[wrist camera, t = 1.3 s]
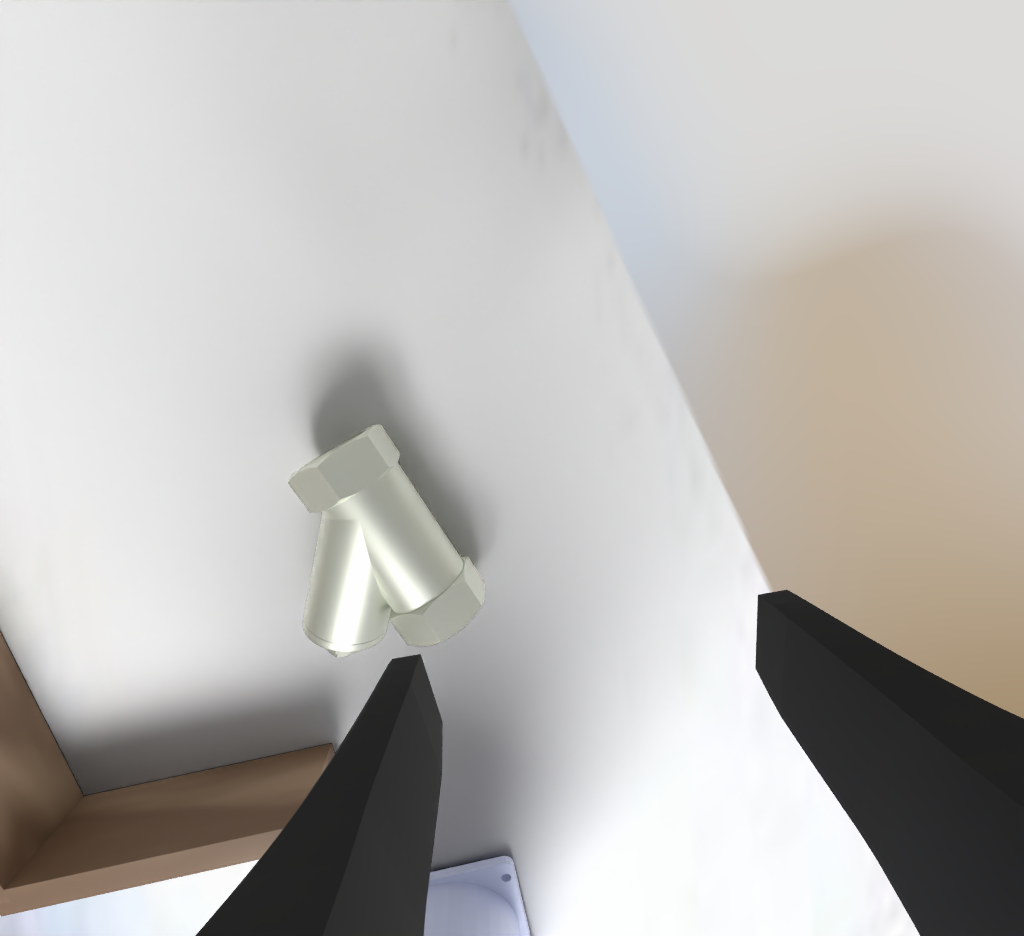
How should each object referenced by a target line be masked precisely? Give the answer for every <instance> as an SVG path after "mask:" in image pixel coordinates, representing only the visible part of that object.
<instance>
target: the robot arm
mask: <svg viewBox="0 0 1024 936" xmlns="http://www.w3.org/2000/svg"><path fill="white" fill-rule="evenodd" d="M756 670H757V672H758V674H759V676H760V678H761V680H762V682H763V684H764V686H765V688H766V690H767V691H768V693H769V695H770V697H771V699H772V701H773V703H774V705H775V706H776V708H777V710H778V712H779V714H780V716H781V717H782V719H783V720H784V722H785V723H786V725H787V726H788V728H789V729H790V731H791V732H792V734H793V735H794V737H795V738H796V740H797V741H798V743H799V744H800V746H801V747H802V749H803V750H804V751H805V753H806V754H807V756H808V757H809V759H810V760H811V762H812V763H813V765H814V766H815V768H816V769H817V771H818V772H819V773H820V775H821V776H822V778H823V779H824V781H825V782H826V784H827V785H828V787H829V788H830V790H831V791H832V792H833V794H834V795H835V797H836V798H837V800H838V801H839V803H840V804H841V806H842V807H843V809H844V810H845V811H846V813H847V814H848V816H849V817H850V819H851V820H852V822H853V823H854V825H855V826H856V828H857V829H858V831H859V832H860V834H861V835H862V837H863V838H864V840H865V841H866V843H867V845H868V846H869V848H870V849H871V851H872V852H873V854H874V856H875V857H876V859H877V860H878V862H879V864H880V866H881V867H882V869H883V871H884V873H885V874H886V876H887V878H888V880H889V881H890V883H891V885H892V887H893V888H894V890H895V892H896V894H897V895H898V897H899V899H900V901H901V902H902V904H903V906H904V907H905V909H906V911H907V913H908V914H909V916H910V918H911V920H912V921H913V923H914V925H915V927H916V929H917V930H918V932H919V934H920V936H1024V719H1023V718H1021V717H1019V716H1016V715H1014V714H1012V713H1010V712H1008V711H1006V710H1003V709H1001V708H999V707H997V706H995V705H993V704H991V703H989V702H987V701H985V700H983V699H981V698H979V697H977V696H975V695H973V694H971V693H969V692H967V691H965V690H963V689H961V688H959V687H957V686H955V685H954V684H952V683H949V682H948V681H946V680H944V679H942V678H940V677H938V676H936V675H934V674H933V673H931V672H929V671H927V670H925V669H923V668H921V667H920V666H918V665H916V664H914V663H912V662H910V661H909V660H907V659H905V658H903V657H901V656H900V655H898V654H896V653H894V652H892V651H891V650H889V649H887V648H885V647H884V646H882V645H880V644H879V643H877V642H875V641H873V640H872V639H870V638H868V637H866V636H865V635H863V634H861V633H860V632H858V631H856V630H855V629H853V628H851V627H849V626H848V625H846V624H844V623H843V622H841V621H839V620H838V619H836V618H834V617H833V616H831V615H829V614H828V613H826V612H824V611H823V610H821V609H819V608H818V607H816V606H814V605H812V604H811V603H809V602H807V601H806V600H804V599H802V598H801V597H799V596H797V595H795V594H793V593H792V592H790V591H788V590H784V591H778V592H772V593H766V594H761V595H758V612H757V641H756ZM441 777H442V720H441V716H440V713H439V710H438V707H437V704H436V701H435V698H434V695H433V691H432V688H431V685H430V682H429V679H428V676H427V673H426V670H425V666H424V663H423V660H422V657H421V654H419V655H413V656H407V657H402V658H396V659H392V660H391V662H390V663H389V664H388V666H387V668H386V670H385V671H384V673H383V675H382V677H381V678H380V680H379V682H378V684H377V685H376V687H375V689H374V691H373V692H372V694H371V696H370V697H369V699H368V701H367V703H366V704H365V706H364V708H363V709H362V711H361V713H360V714H359V716H358V718H357V719H356V721H355V723H354V724H353V726H352V728H351V729H350V731H349V732H348V734H347V736H346V737H345V739H344V740H343V742H342V744H341V745H340V747H339V748H338V750H337V752H336V753H335V755H334V756H333V758H332V759H331V761H330V762H329V764H328V765H327V767H326V768H325V770H324V771H323V773H322V774H321V776H320V777H319V779H318V780H317V782H316V783H315V785H314V786H313V787H312V789H311V790H310V792H309V793H308V795H307V796H306V798H305V799H304V801H303V802H302V804H301V805H300V806H299V808H298V809H297V811H296V812H295V813H294V815H293V816H292V817H291V819H290V820H289V822H288V823H287V824H286V826H285V827H284V828H283V830H282V831H281V832H280V834H279V835H278V836H277V838H276V839H275V840H274V842H273V843H272V844H271V845H270V847H269V848H268V849H267V851H266V852H265V853H264V854H263V856H262V857H261V858H260V860H259V861H258V862H257V863H256V865H255V866H254V867H253V868H252V870H251V871H250V872H249V873H248V874H247V876H246V877H245V878H244V879H243V880H242V882H241V883H240V884H239V885H238V886H237V888H236V889H235V890H234V891H233V892H232V894H231V895H230V896H229V897H228V899H227V900H226V901H225V902H224V903H223V904H222V906H221V907H220V908H219V909H218V910H217V911H216V913H215V914H214V915H213V916H212V917H211V918H210V920H209V921H208V922H207V923H206V924H205V925H204V927H203V928H202V929H201V930H200V931H199V932H198V933H197V935H196V936H531V935H530V930H529V926H528V922H527V918H526V913H525V909H524V905H523V901H522V896H521V892H520V888H519V884H518V879H517V875H516V871H515V866H514V862H513V860H512V858H510V857H508V856H500V857H496V858H491V859H487V860H482V861H478V862H473V863H469V864H465V865H460V866H456V867H451V868H447V869H442V870H438V871H433V872H430V870H431V862H432V853H433V845H434V837H435V829H436V820H437V812H438V803H439V795H440V786H441Z"/></svg>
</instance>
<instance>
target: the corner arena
mask: <svg viewBox="0 0 1024 936" xmlns="http://www.w3.org/2000/svg"><path fill="white" fill-rule="evenodd" d="M334 755H335V752H334V749H333V746H332V743H330V744H326V745H321V746H316V747H312V748H307V749H302V750H298V751H293V752H288V753H284V754H279V755H274V756H270V757H265V758H260V759H256V760H251V761H246V762H242V763H237V764H232V765H228V766H223V767H218V768H214V769H209V770H204V771H200V772H195V773H190V774H186V775H181V776H176V777H171V778H167V779H162V780H157V781H153V782H148V783H143V784H139V785H134V786H129V787H125V788H120V789H115V790H111V791H106V792H101V793H97V794H92V795H87V796H83V794H82V792H81V790H80V788H79V786H78V784H77V782H76V780H75V778H74V776H73V774H72V772H71V770H70V768H69V766H68V764H67V762H66V760H65V759H64V757H63V755H62V753H61V751H60V749H59V747H58V745H57V743H56V741H55V739H54V737H53V735H52V733H51V731H50V729H49V727H48V725H47V723H46V721H45V719H44V717H43V715H42V713H41V711H40V709H39V707H38V705H37V703H36V701H35V699H34V697H33V696H32V694H31V692H30V690H29V688H28V686H27V684H26V682H25V680H24V678H23V676H22V674H21V672H20V670H19V668H18V666H17V664H16V662H15V660H14V658H13V656H12V654H11V652H10V650H9V648H8V646H7V644H6V642H5V640H4V638H3V636H2V634H1V633H0V915H1V916H6V915H10V914H15V913H19V912H24V911H28V910H33V909H37V908H42V907H46V906H51V905H55V904H60V903H64V902H69V901H73V900H78V899H82V898H87V897H91V896H96V895H100V894H105V893H109V892H114V891H118V890H123V889H127V888H132V887H136V886H141V885H145V884H150V883H154V882H159V881H163V880H168V879H172V878H177V877H182V876H186V875H191V874H195V873H200V872H204V871H209V870H213V869H218V868H222V867H227V866H231V865H236V864H240V863H245V862H249V861H254V860H258V859H260V858H261V857H262V856H263V854H264V853H265V852H266V851H267V849H268V848H269V847H270V845H271V844H272V843H273V842H274V840H275V839H276V838H277V836H278V835H279V834H280V832H281V831H282V830H283V828H284V827H285V826H286V824H287V823H288V822H289V820H290V819H291V817H292V816H293V815H294V813H295V812H296V811H297V809H298V808H299V806H300V805H301V804H302V802H303V801H304V799H305V798H306V796H307V795H308V793H309V792H310V790H311V789H312V787H313V786H314V785H315V783H316V782H317V780H318V779H319V777H320V776H321V774H322V773H323V771H324V770H325V768H326V767H327V765H328V764H329V762H330V761H331V759H332V758H333V756H334Z"/></svg>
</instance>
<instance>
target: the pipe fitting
mask: <svg viewBox="0 0 1024 936" xmlns="http://www.w3.org/2000/svg"><path fill="white" fill-rule="evenodd" d="M399 457H400V452H399V451H398V449H397V448H396V446H395V445H394V443H393V442H392V440H391V439H390V437H389V436H388V434H387V433H386V431H385V430H384V428H383V427H382V425H372V426H370V427H368V428H366V429H364V430H362V431H361V432H359V433H357V434H355V435H354V436H352V437H350V438H348V439H347V440H345V441H343V442H342V443H340V444H338V445H337V446H335V447H333V448H332V449H330V450H328V451H327V452H325V453H324V454H322V455H320V456H319V457H317V458H316V459H314V460H312V461H311V462H309V463H308V464H306V465H305V466H303V467H302V468H300V469H299V470H297V471H296V472H295V473H293V474H292V476H291V477H290V479H289V481H288V484H289V485H290V486H291V488H292V489H293V490H294V492H295V493H296V495H297V496H298V497H299V499H300V500H301V501H302V503H303V504H304V505H305V507H306V508H307V509H308V511H309V512H310V513H314V512H321V513H322V518H321V524H320V529H319V535H318V540H317V546H316V551H315V557H314V562H313V568H312V574H311V579H310V585H309V590H308V596H307V602H306V607H305V613H304V618H303V630H304V632H305V634H306V636H307V637H308V638H309V639H310V640H311V641H312V642H314V643H315V644H317V645H319V646H321V647H323V648H325V649H327V650H328V651H329V652H330V653H331V654H332V655H334V656H335V657H346V656H349V655H350V653H354V652H357V651H360V650H364V649H367V648H370V647H372V646H374V645H376V644H377V643H378V642H380V641H381V640H382V639H383V637H384V636H385V634H386V631H387V627H388V622H389V620H390V622H391V623H392V624H393V626H394V627H395V628H396V630H397V631H398V632H399V634H400V635H401V636H402V638H403V639H404V640H405V642H406V643H407V645H411V646H431V645H435V644H438V643H440V642H442V641H444V640H446V639H448V638H450V637H451V636H453V635H454V634H456V633H457V632H459V631H460V630H461V629H462V628H464V627H465V626H466V625H467V624H468V623H469V622H470V621H471V620H472V619H473V618H474V617H475V616H476V614H477V613H478V612H479V610H480V609H481V608H482V606H483V604H484V601H485V584H484V580H483V579H482V577H481V576H480V574H479V572H478V571H477V569H476V568H475V566H474V565H473V563H472V562H471V560H470V559H469V557H460V556H459V554H458V553H457V551H456V550H455V548H454V547H453V545H452V544H451V542H450V541H449V539H448V538H447V536H446V535H445V533H444V532H443V530H442V529H441V527H440V526H439V524H438V523H437V521H436V520H435V518H434V517H433V515H432V514H431V512H430V511H429V509H428V508H427V506H426V505H425V503H424V502H423V500H422V498H421V497H420V495H419V494H418V492H417V491H416V489H415V488H414V486H413V485H412V483H411V482H410V480H409V479H408V477H407V476H406V474H405V473H404V471H403V470H402V468H401V467H400V465H399V464H398V461H399ZM389 618H390V619H389Z"/></svg>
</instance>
